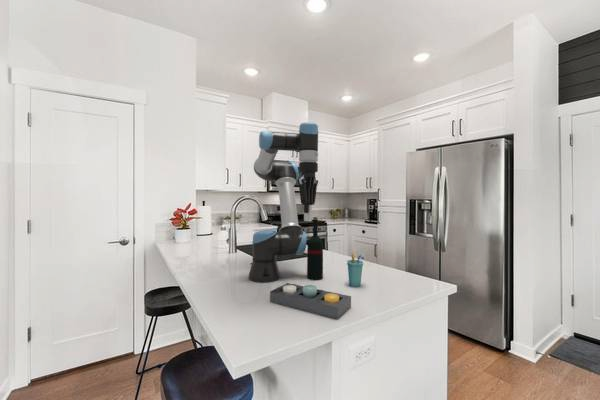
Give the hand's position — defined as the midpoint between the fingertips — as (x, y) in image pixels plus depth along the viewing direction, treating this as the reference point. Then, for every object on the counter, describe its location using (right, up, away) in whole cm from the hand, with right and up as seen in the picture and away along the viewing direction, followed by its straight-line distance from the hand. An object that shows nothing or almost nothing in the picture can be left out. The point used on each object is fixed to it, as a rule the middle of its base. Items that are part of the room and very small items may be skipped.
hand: (307, 221), depth 112 cm
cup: (+22, -31, +14) cm, 40 cm away
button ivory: (-7, -29, -3) cm, 30 cm away
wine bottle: (+4, -30, +26) cm, 40 cm away
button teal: (0, -28, -8) cm, 29 cm away
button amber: (+8, -29, -13) cm, 33 cm away
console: (0, -31, -8) cm, 32 cm away
